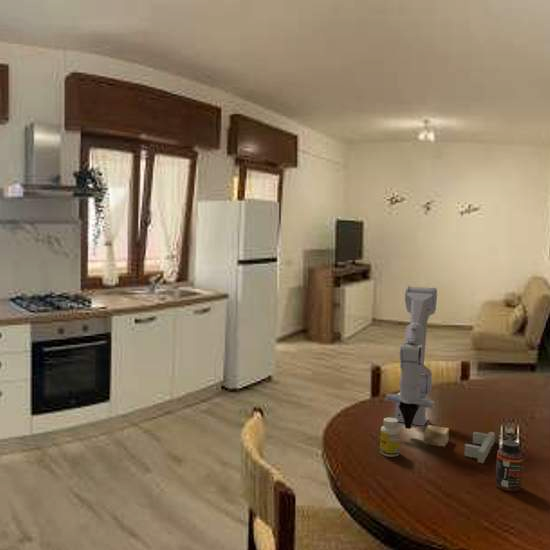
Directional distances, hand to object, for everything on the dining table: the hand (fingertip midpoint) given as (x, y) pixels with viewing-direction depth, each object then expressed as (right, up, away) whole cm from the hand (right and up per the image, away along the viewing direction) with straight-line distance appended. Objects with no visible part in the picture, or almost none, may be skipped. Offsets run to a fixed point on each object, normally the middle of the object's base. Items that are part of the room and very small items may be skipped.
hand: (408, 427), depth 181 cm
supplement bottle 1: (-8, -4, -13) cm, 16 cm away
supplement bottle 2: (+17, -6, -33) cm, 38 cm away
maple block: (+7, -4, -4) cm, 9 cm away
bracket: (+18, -4, -10) cm, 21 cm away
